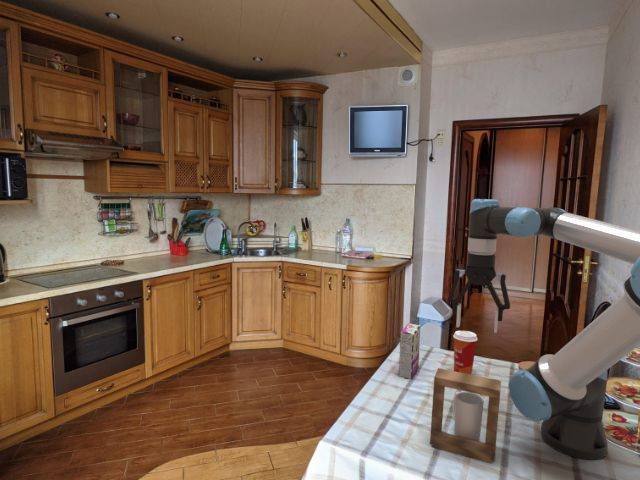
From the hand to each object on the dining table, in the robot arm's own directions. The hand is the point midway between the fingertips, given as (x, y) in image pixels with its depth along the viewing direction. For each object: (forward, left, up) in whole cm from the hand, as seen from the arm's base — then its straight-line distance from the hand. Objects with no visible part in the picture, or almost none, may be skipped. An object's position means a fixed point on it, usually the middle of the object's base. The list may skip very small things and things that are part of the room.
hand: (476, 328), depth 122 cm
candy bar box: (+23, -18, -25) cm, 38 cm away
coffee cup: (+5, -26, -25) cm, 36 cm away
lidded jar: (-18, -25, -25) cm, 40 cm away
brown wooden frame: (0, +20, -25) cm, 32 cm away
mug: (0, +16, -25) cm, 30 cm away
